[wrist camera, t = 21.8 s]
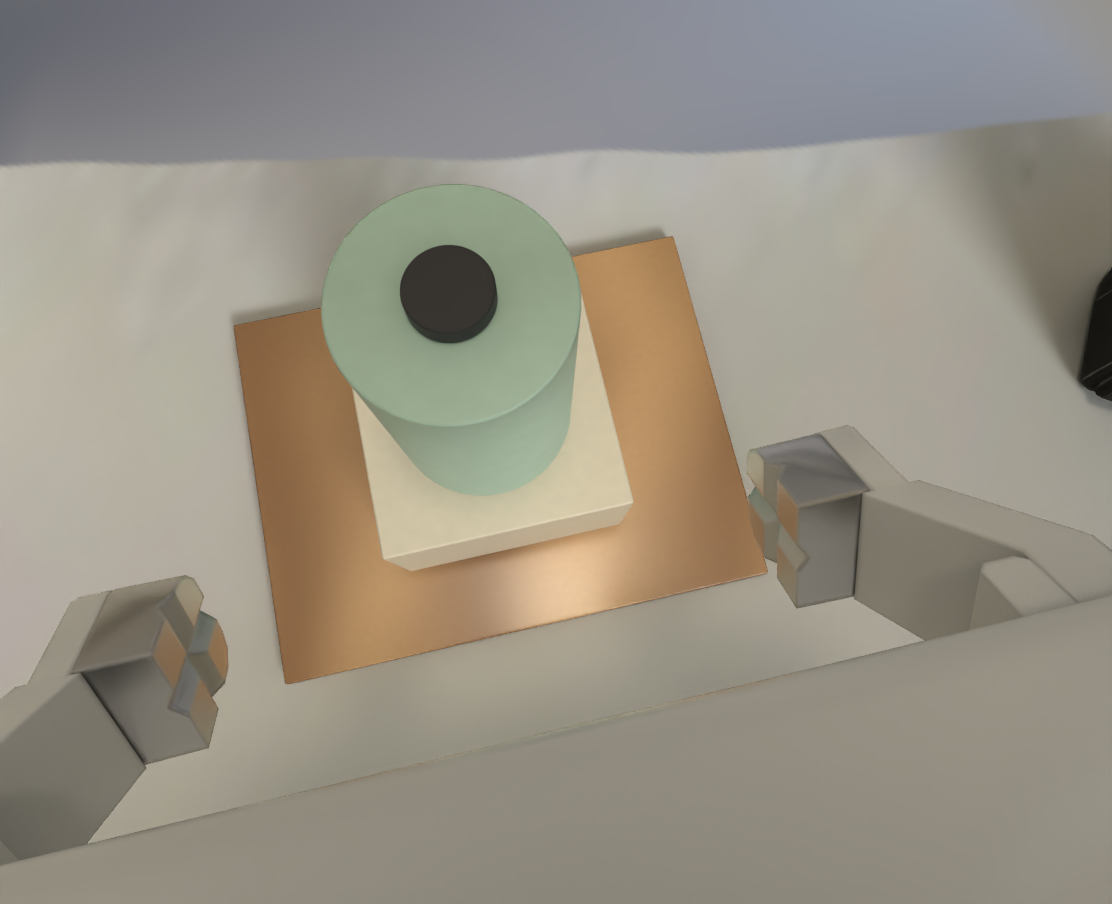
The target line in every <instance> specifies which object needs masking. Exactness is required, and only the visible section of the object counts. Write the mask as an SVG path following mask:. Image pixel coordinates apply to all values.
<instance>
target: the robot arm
mask: <svg viewBox="0 0 1112 904" xmlns="http://www.w3.org/2000/svg"><path fill="white" fill-rule="evenodd" d="M747 474H748V475H749V477H750V478H751V480H752V481H753V483H754V484H755V486H756V487H755V488H754V489H753V491H752V492H751V494H750V495H749V497H748V511H749V519H750V524H751V528H752V532H753V535H754V538H755V540H756V543H757V545H758V547H759V549H760V550H761V552H762V554H763V556H764V557H765V558H766V559H769V560H771V561H773V562H775V563H777V578H778V580H779V581H780V583H781V585H782V586H783V588H784V589H785V591H786V592H787V594H788V596H789V597H790V599H791V600H792V602H793V604H794V605H795V607H796V608H801V607H806V606H811V605H815V604H820V603H825V602H830V601H834V600H839V599H844V598H849V597H854V599H855V600H857V601H859V602H860V603H862V604H864V605H865V606H867V607H869V608H871V609H872V610H874V611H876V612H877V613H879V614H881V615H883V616H884V617H886V618H888V619H889V620H891V621H893V622H895V623H896V624H898V625H900V626H901V627H903V628H905V629H907V630H908V631H910V632H912V633H913V634H915V635H917V636H918V637H920V638H922V639H924V640H925V641H922V642H918V643H913V644H909V645H905V646H901V647H897V648H893V649H889V650H885V651H881V652H877V653H873V654H869V655H865V656H861V657H856V658H852V659H848V660H844V661H840V662H836V663H832V664H828V665H824V666H819V667H815V668H811V669H807V670H803V671H799V672H795V673H791V674H786V675H782V676H778V677H774V678H770V679H766V680H762V681H757V682H753V683H749V684H745V685H741V686H737V687H733V688H728V689H724V690H720V691H716V692H712V693H708V694H704V695H699V696H695V697H691V698H687V699H683V700H679V701H675V702H671V703H666V704H662V705H658V706H654V707H650V708H646V709H642V710H637V711H633V712H629V713H625V714H621V715H617V716H613V717H608V718H604V719H600V720H596V721H592V722H588V723H584V724H580V725H575V726H571V727H567V728H563V729H559V730H555V731H551V732H547V733H543V734H539V735H535V736H530V737H526V738H522V739H518V740H514V741H510V742H506V743H502V744H498V745H494V746H490V747H485V748H481V749H477V750H473V751H469V752H465V753H461V754H457V755H453V756H449V757H444V758H440V759H436V760H432V761H428V762H424V763H420V764H416V765H412V766H408V767H403V768H399V769H395V770H391V771H387V772H383V773H379V774H375V775H370V776H366V777H362V778H358V779H354V780H350V781H346V782H341V783H337V784H333V785H329V786H325V787H321V788H317V789H313V790H308V791H304V792H300V793H296V794H292V795H288V796H284V797H280V798H275V799H271V800H267V801H263V802H259V803H255V804H251V805H247V806H242V807H238V808H234V809H230V810H226V811H222V812H218V813H213V814H209V815H205V816H201V817H197V818H193V819H189V820H185V821H180V822H176V823H172V824H168V825H164V826H160V827H156V828H152V829H147V830H143V831H139V832H135V833H131V834H127V835H123V836H119V837H114V838H110V839H106V840H102V841H98V842H94V843H90V844H87V842H88V841H89V840H90V839H91V837H92V836H93V835H94V834H95V832H96V831H97V830H98V828H99V827H100V826H101V825H102V823H103V822H104V821H105V820H106V818H107V817H108V816H109V814H110V813H111V812H112V811H113V809H114V808H115V807H116V806H117V804H118V803H119V802H120V801H121V799H122V798H123V797H124V795H125V794H126V793H127V792H128V790H129V789H130V788H131V787H132V785H133V784H134V783H135V781H136V780H137V779H138V778H139V776H140V775H141V774H142V773H143V771H144V770H145V769H146V766H145V765H146V764H150V763H154V762H158V761H162V760H165V759H169V758H173V757H177V756H180V755H184V754H188V753H192V752H195V751H199V750H203V749H207V748H209V745H210V741H211V737H212V733H213V729H214V725H215V721H216V717H217V713H218V707H217V705H216V703H215V701H214V700H213V698H212V697H213V695H214V694H215V693H216V692H217V691H218V690H219V689H220V688H221V687H222V686H223V685H224V684H225V680H226V676H227V671H228V649H227V644H226V641H225V637H224V634H223V631H222V629H221V627H220V625H219V623H218V621H217V619H215V618H213V617H211V616H210V615H208V614H206V613H204V612H202V611H200V608H201V605H202V601H203V598H204V595H203V593H202V592H201V590H200V588H199V587H198V585H197V583H196V581H195V580H194V579H193V578H191V577H188V576H186V575H184V576H179V577H174V578H169V579H164V580H159V581H154V582H149V583H144V584H139V585H134V586H129V587H125V588H120V589H116V590H114V591H105V592H101V593H97V594H92V595H88V596H83V597H79V598H78V599H76V600H74V601H72V602H71V603H70V604H69V606H68V608H67V610H66V612H65V614H64V616H63V618H62V620H61V621H60V623H59V625H58V627H57V629H56V631H55V633H54V635H53V637H52V638H51V640H50V642H49V644H48V646H47V648H46V650H45V652H44V654H43V656H42V657H41V659H40V661H39V663H38V665H37V667H36V669H35V671H34V673H33V674H32V676H31V678H30V680H29V682H28V684H27V685H23V686H19V687H15V688H14V689H13V690H11V691H10V692H9V693H8V694H6V695H5V696H4V697H3V698H2V699H0V904H1112V550H1111V549H1109V548H1108V547H1107V546H1106V545H1105V544H1103V543H1102V542H1101V541H1100V540H1098V539H1097V538H1096V537H1095V536H1094V535H1091V534H1088V533H1085V532H1082V531H1078V530H1075V529H1072V528H1069V527H1066V526H1063V525H1059V524H1056V523H1053V522H1050V521H1047V520H1044V519H1040V518H1037V517H1034V516H1031V515H1028V514H1025V513H1021V512H1018V511H1015V510H1012V509H1009V508H1006V507H1002V506H999V505H996V504H993V503H990V502H987V501H983V500H980V499H977V498H974V497H971V496H968V495H964V494H961V493H958V492H955V491H952V490H949V489H945V488H942V487H939V486H936V485H933V484H930V483H926V482H923V481H920V480H917V481H913V482H908V481H907V480H906V479H905V478H904V477H903V476H902V475H901V474H900V473H899V472H898V471H897V470H896V469H895V468H894V467H893V466H892V465H891V464H890V463H889V462H888V461H887V460H886V459H885V458H884V457H883V456H882V455H881V454H880V453H879V452H878V451H877V450H876V449H875V448H874V447H873V446H872V445H871V444H870V443H869V442H868V441H867V440H866V439H865V438H864V437H863V436H862V435H861V434H860V433H859V432H858V431H857V430H856V429H855V428H853V427H851V426H847V425H846V426H842V427H838V428H834V429H830V430H826V431H822V432H818V433H815V434H814V435H810V436H806V437H801V438H797V439H793V440H789V441H784V442H780V443H776V444H772V445H767V446H763V447H759V448H755V449H751V450H749V453H748V457H747Z"/></svg>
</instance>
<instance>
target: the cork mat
mask: <svg viewBox="0 0 1112 904" xmlns="http://www.w3.org/2000/svg"><path fill="white" fill-rule="evenodd" d="M572 259H573V261H574V264H575V267H576V270H577V273H578V277H579V283H580V288H581V293H582V297H583V301H584V305H585V309H586V313H587V317H588V321H589V325H590V329H591V333H592V337H593V341H594V345H595V349H596V353H597V357H598V361H599V365H600V369H601V373H602V377H603V381H604V385H605V389H606V393H607V397H608V401H609V405H610V409H611V413H612V416H613V420H614V424H615V428H616V432H617V436H618V440H619V444H620V448H621V452H622V456H623V460H624V464H625V468H626V472H627V476H628V480H629V484H630V488H631V492H632V496H633V500H634V502H633V504H632V506H631V507H630V509H629V510H628V512H627V513H626V515H625V516H624V518H623V519H622V521H621V522H620V524H618V525H614V526H610V527H605V528H601V529H596V530H592V531H587V532H583V533H579V534H574V535H570V536H565V537H561V538H556V539H552V540H548V541H543V542H539V543H534V544H530V545H526V546H521V547H517V548H512V549H508V550H503V551H499V552H495V553H490V554H486V555H481V556H477V557H472V558H468V559H464V560H459V561H455V562H450V563H446V564H441V565H437V566H433V567H428V568H424V569H419V570H415V571H409V570H407V569H405V568H402V567H400V566H398V565H395V564H393V563H391V562H389V561H386V560H384V559H383V558H382V554H381V549H380V543H379V538H378V532H377V526H376V521H375V515H374V509H373V504H372V498H371V493H370V487H369V481H368V476H367V470H366V465H365V459H364V453H363V448H362V442H361V436H360V431H359V425H358V420H357V414H356V408H355V403H354V397H353V391H352V387H351V385H350V384H349V383H348V382H347V380H346V379H345V378H344V376H343V375H342V374H341V373H340V371H339V369H338V367H337V366H336V364H335V362H334V361H333V359H332V356H331V354H330V351H329V349H328V346H327V344H326V340H325V336H324V332H323V327H322V317H321V308H318V309H313V310H308V311H303V312H298V313H293V314H288V315H283V316H278V317H273V318H269V319H264V320H259V321H254V322H249V323H244V324H239V325H235V326H234V333H235V340H236V347H237V354H238V361H239V368H240V375H241V382H242V389H243V396H244V402H245V409H246V416H247V423H248V430H249V437H250V444H251V451H252V458H253V465H254V472H255V478H256V485H257V492H258V499H259V506H260V513H261V520H262V527H263V534H264V541H265V548H266V554H267V561H268V568H269V575H270V582H271V589H272V596H273V603H274V610H275V617H276V624H277V630H278V637H279V644H280V651H281V658H282V665H283V672H284V679H285V683H286V684H291V683H295V682H300V681H304V680H308V679H313V678H317V677H321V676H326V675H330V674H334V673H339V672H343V671H347V670H352V669H356V668H360V667H365V666H369V665H373V664H378V663H382V662H386V661H391V660H395V659H399V658H404V657H408V656H412V655H417V654H421V653H425V652H430V651H434V650H438V649H443V648H447V647H451V646H456V645H460V644H464V643H469V642H473V641H477V640H482V639H486V638H490V637H494V636H499V635H503V634H507V633H512V632H516V631H520V630H525V629H529V628H533V627H538V626H542V625H546V624H551V623H555V622H559V621H564V620H568V619H572V618H577V617H581V616H585V615H590V614H594V613H598V612H603V611H607V610H611V609H616V608H620V607H624V606H629V605H633V604H637V603H642V602H646V601H650V600H655V599H659V598H663V597H668V596H672V595H676V594H681V593H685V592H689V591H694V590H698V589H702V588H707V587H711V586H715V585H720V584H724V583H728V582H732V581H737V580H741V579H745V578H750V577H754V576H758V575H763V574H766V573H768V570H767V567H766V563H765V560H764V556H763V554H762V552H761V550H760V549H759V547H758V545H757V543H756V540H755V538H754V535H753V532H752V528H751V524H750V519H749V511H748V500H747V496H746V492H745V489H744V485H743V482H742V478H741V475H740V471H739V468H738V464H737V461H736V457H735V454H734V450H733V446H732V443H731V439H730V436H729V432H728V429H727V425H726V422H725V418H724V415H723V411H722V408H721V404H720V400H719V397H718V393H717V390H716V386H715V383H714V379H713V376H712V372H711V369H710V365H709V361H708V358H707V354H706V351H705V347H704V344H703V340H702V337H701V333H700V330H699V326H698V323H697V319H696V315H695V312H694V308H693V305H692V301H691V298H690V294H689V291H688V287H687V284H686V280H685V277H684V273H683V269H682V266H681V262H680V259H679V255H678V252H677V248H676V245H675V241H674V238H673V236H671V237H666V238H661V239H656V240H651V241H646V242H641V243H636V244H631V245H627V246H622V247H617V248H612V249H607V250H602V251H597V252H592V253H587V254H582V255H577V256H573V257H572Z"/></svg>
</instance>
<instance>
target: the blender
mask: <svg viewBox="0 0 1112 904" xmlns="http://www.w3.org/2000/svg"><path fill="white" fill-rule="evenodd" d="M321 317H322V327H323V332H324V336H325V340H326V344H327V346H328V349H329V351H330V354H331V356H332V359H333V361H334V362H335V364H336V366H337V367H338V369H339V371H340V373H341V374H342V375H343V376H344V378H345V379H346V380H347V382H348V383H349V384H350V385H351V387H352V391H353V397H354V403H355V408H356V414H357V420H358V425H359V431H360V436H361V442H362V448H363V453H364V459H365V465H366V470H367V476H368V481H369V487H370V493H371V498H372V504H373V509H374V515H375V521H376V526H377V532H378V538H379V543H380V549H381V554H382V558H383V559H384V560H386V561H389V562H391V563H393V564H395V565H398V566H400V567H402V568H405V569H407V570H409V571H415V570H419V569H424V568H428V567H433V566H437V565H441V564H446V563H450V562H455V561H459V560H464V559H468V558H472V557H477V556H481V555H486V554H490V553H495V552H499V551H503V550H508V549H512V548H517V547H521V546H526V545H530V544H534V543H539V542H543V541H548V540H552V539H556V538H561V537H565V536H570V535H574V534H579V533H583V532H587V531H592V530H596V529H601V528H605V527H610V526H614V525H618V524H620V522H621V521H622V519H623V518H624V516H625V515H626V513H627V512H628V510H629V509H630V507H631V506H632V504H633V502H634V500H633V496H632V492H631V488H630V484H629V480H628V476H627V472H626V468H625V464H624V460H623V456H622V452H621V448H620V444H619V440H618V436H617V432H616V428H615V424H614V420H613V416H612V413H611V409H610V405H609V401H608V397H607V393H606V389H605V385H604V381H603V377H602V373H601V369H600V365H599V361H598V357H597V353H596V349H595V345H594V341H593V337H592V333H591V329H590V325H589V321H588V317H587V313H586V309H585V305H584V301H583V297H582V293H581V288H580V283H579V277H578V273H577V270H576V267H575V264H574V261H573V259H572V257H571V255H570V253H569V251H568V249H567V247H566V245H565V244H564V242H563V241H562V239H561V238H560V236H559V235H558V233H557V232H556V231H555V230H554V229H553V228H552V226H551V225H550V224H549V223H548V222H547V221H546V220H545V219H544V218H542V217H541V216H540V215H539V214H538V213H537V212H536V211H534V210H533V209H531V208H530V207H528V206H527V205H525V204H524V203H522V202H521V201H519V200H517V199H515V198H513V197H511V196H509V195H506V194H504V193H501V192H498V191H495V190H492V189H488V188H483V187H479V186H473V185H462V184H446V185H436V186H429V187H424V188H420V189H417V190H413V191H410V192H407V193H405V194H402V195H399V196H397V197H395V198H393V199H391V200H389V201H387V202H385V203H384V204H382V205H380V206H379V207H377V208H376V209H375V210H373V211H372V212H370V213H369V214H368V215H366V216H365V217H364V218H363V219H362V220H361V221H360V222H359V223H358V224H356V226H355V227H354V228H353V229H352V230H351V231H350V233H349V234H348V235H347V236H346V237H345V239H344V240H343V242H342V243H341V245H340V246H339V248H338V249H337V251H336V253H335V255H334V257H333V259H332V261H331V263H330V266H329V269H328V272H327V275H326V278H325V281H324V287H323V292H322V301H321Z"/></svg>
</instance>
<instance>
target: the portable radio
mask: <svg viewBox="0 0 1112 904" xmlns="http://www.w3.org/2000/svg"><path fill="white" fill-rule="evenodd" d="M1081 380H1082V382H1083V384H1084V385H1085V386H1086V387H1087V388H1088V389H1089V390H1092V391H1095V392H1096V395H1098V396H1100V397H1101V398H1104V399H1107V400H1111V401H1112V269H1111V270H1110V272H1109V273H1108V275H1107V276H1106V277H1105V279H1104V280H1103V282H1102V283H1101V285H1100V288H1099V292H1098V295H1097V298H1096V301H1095V304H1094V310H1093V315H1092V321H1091V327H1090V332H1089V338H1088V343H1087V349H1086V354H1085V360H1084V366H1083V371H1082V377H1081Z"/></svg>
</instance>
